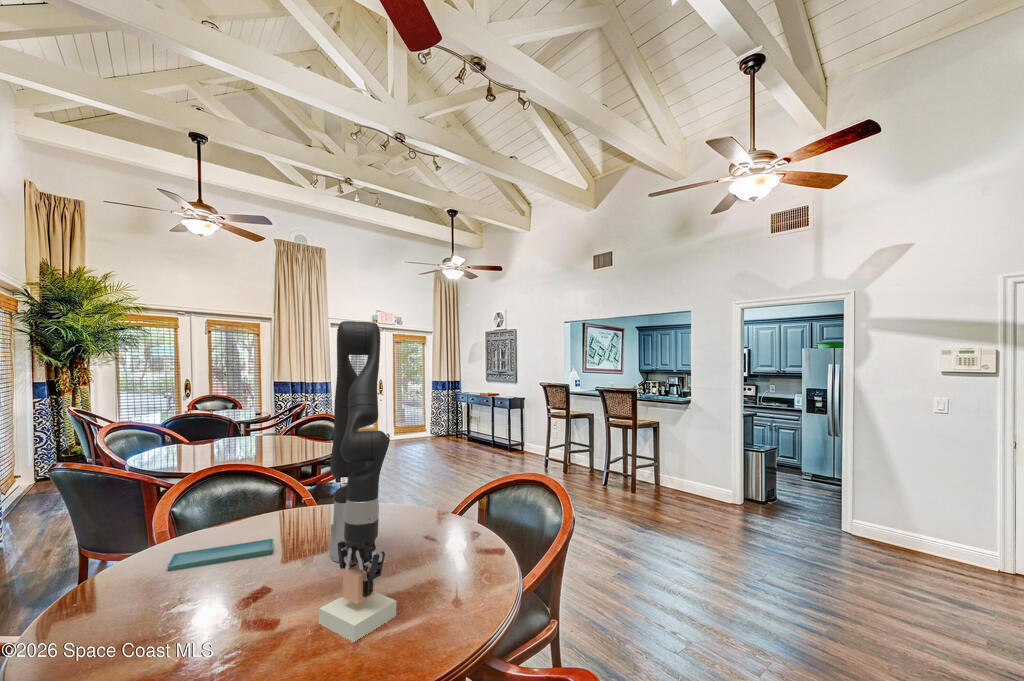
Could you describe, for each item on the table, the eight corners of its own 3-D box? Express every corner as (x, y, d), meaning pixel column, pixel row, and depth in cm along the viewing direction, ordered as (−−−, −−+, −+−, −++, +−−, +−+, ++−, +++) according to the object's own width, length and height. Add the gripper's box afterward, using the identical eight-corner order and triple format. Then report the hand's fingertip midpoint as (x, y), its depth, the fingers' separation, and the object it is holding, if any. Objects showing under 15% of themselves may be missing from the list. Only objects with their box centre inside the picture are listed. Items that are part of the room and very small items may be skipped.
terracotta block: (342, 597, 102) (343, 571, 102) (360, 588, 106) (361, 562, 106) (357, 604, 99) (358, 576, 99) (374, 594, 103) (375, 568, 104)
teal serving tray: (166, 574, 123) (166, 564, 123) (173, 560, 131) (173, 552, 131) (272, 557, 135) (273, 548, 135) (273, 545, 143) (273, 538, 143)
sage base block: (318, 626, 100) (319, 608, 100) (361, 602, 110) (362, 586, 110) (353, 645, 94) (354, 625, 94) (395, 618, 104) (396, 600, 104)
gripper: (328, 515, 104) (325, 590, 103) (370, 528, 96) (367, 609, 95) (354, 507, 110) (351, 577, 109) (395, 518, 103) (393, 594, 102)
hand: (359, 591), depth 102 cm, fingers closed on terracotta block, 5 cm apart
